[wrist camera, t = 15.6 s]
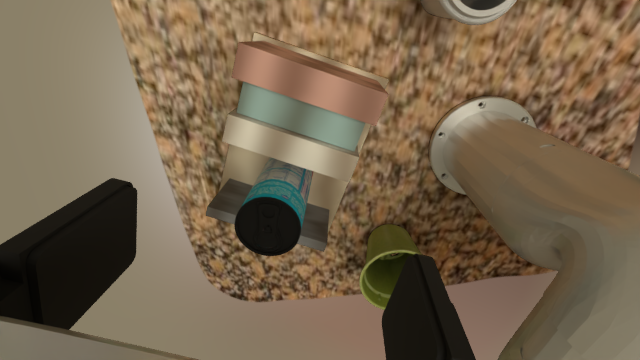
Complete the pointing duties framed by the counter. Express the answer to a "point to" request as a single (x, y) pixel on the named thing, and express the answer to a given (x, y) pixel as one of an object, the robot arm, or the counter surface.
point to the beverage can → (274, 209)
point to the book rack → (297, 127)
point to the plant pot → (385, 262)
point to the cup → (468, 9)
